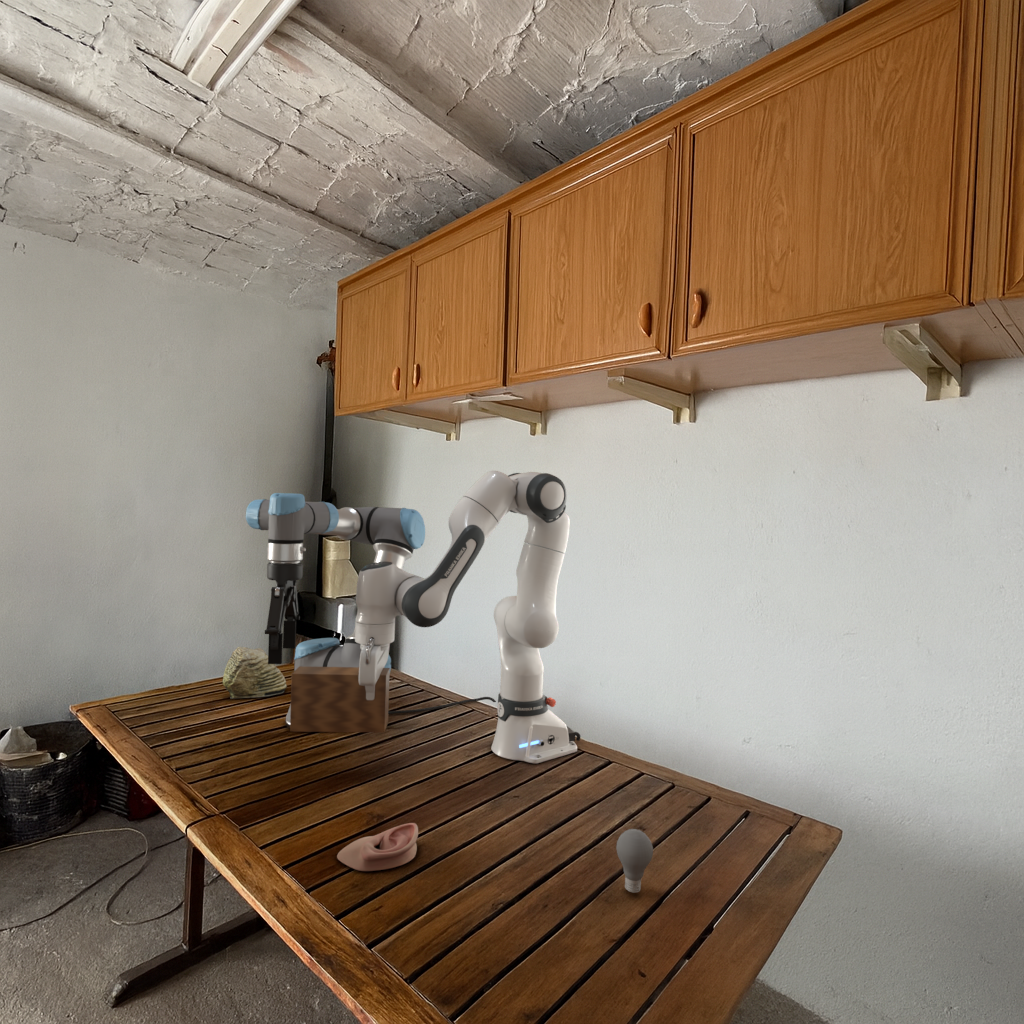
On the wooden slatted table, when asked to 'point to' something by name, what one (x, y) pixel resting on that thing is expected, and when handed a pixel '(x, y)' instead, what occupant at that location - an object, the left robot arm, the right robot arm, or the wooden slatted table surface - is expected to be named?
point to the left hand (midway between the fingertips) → (282, 655)
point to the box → (337, 701)
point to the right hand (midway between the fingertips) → (373, 693)
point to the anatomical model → (382, 849)
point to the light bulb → (634, 857)
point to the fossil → (252, 675)
